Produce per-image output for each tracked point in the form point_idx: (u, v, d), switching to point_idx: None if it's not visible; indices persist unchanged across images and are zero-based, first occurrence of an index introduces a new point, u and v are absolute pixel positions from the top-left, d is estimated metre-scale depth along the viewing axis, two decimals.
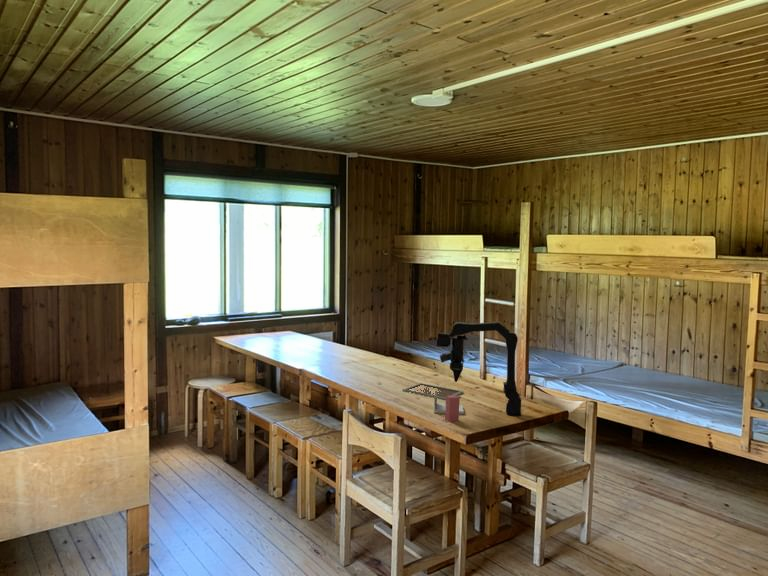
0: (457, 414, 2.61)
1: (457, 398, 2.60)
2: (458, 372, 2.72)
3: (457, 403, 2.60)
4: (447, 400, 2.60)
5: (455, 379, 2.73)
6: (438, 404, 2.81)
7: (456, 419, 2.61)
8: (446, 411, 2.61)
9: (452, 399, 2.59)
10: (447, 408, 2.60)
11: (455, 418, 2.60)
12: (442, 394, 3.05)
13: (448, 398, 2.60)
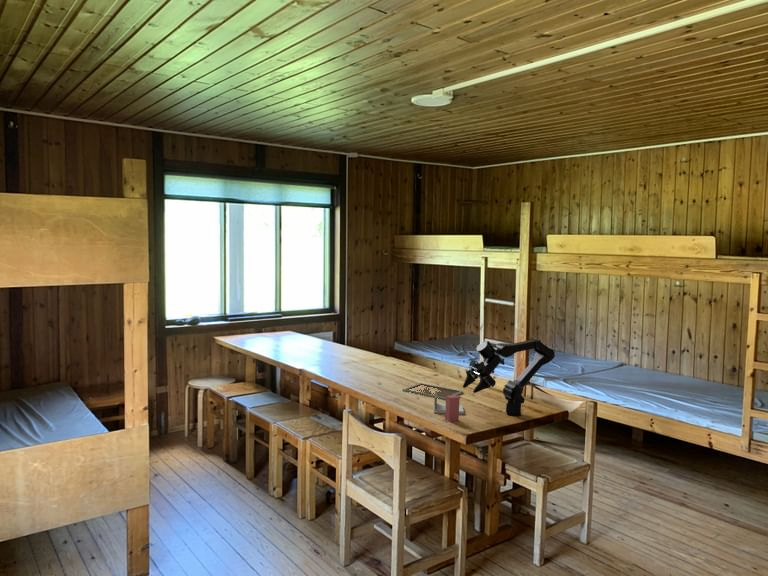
0: (457, 414, 2.61)
1: (457, 398, 2.60)
2: (483, 386, 2.60)
3: (457, 403, 2.60)
4: (447, 400, 2.60)
5: (475, 390, 2.59)
6: (438, 404, 2.81)
7: (456, 419, 2.61)
8: (446, 411, 2.61)
9: (452, 399, 2.59)
10: (447, 408, 2.60)
11: (455, 418, 2.60)
12: (442, 394, 3.05)
13: (448, 398, 2.60)
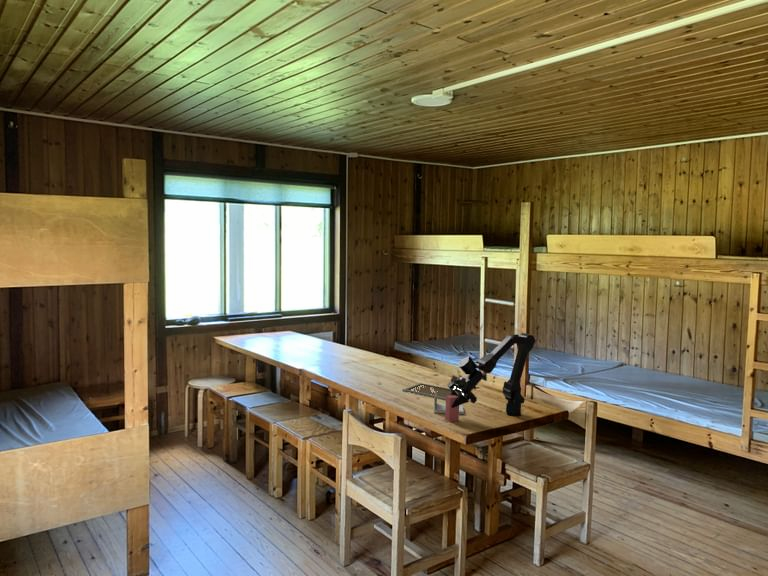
0: (457, 414, 2.61)
1: None
2: (461, 401, 2.59)
3: None
4: (447, 400, 2.60)
5: (454, 405, 2.59)
6: (438, 404, 2.81)
7: (456, 419, 2.61)
8: (446, 411, 2.61)
9: (452, 399, 2.59)
10: (447, 408, 2.60)
11: (455, 418, 2.60)
12: (442, 394, 3.05)
13: (448, 398, 2.60)
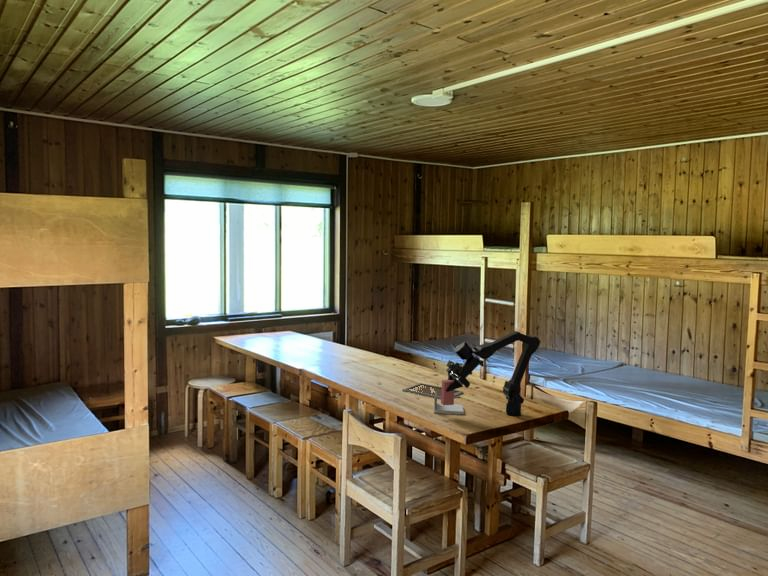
0: (452, 398, 2.65)
1: None
2: (456, 386, 2.63)
3: None
4: (442, 384, 2.66)
5: (448, 389, 2.64)
6: (438, 404, 2.81)
7: (451, 403, 2.65)
8: (442, 395, 2.67)
9: (447, 383, 2.64)
10: (442, 392, 2.66)
11: (450, 402, 2.65)
12: None
13: (443, 382, 2.65)
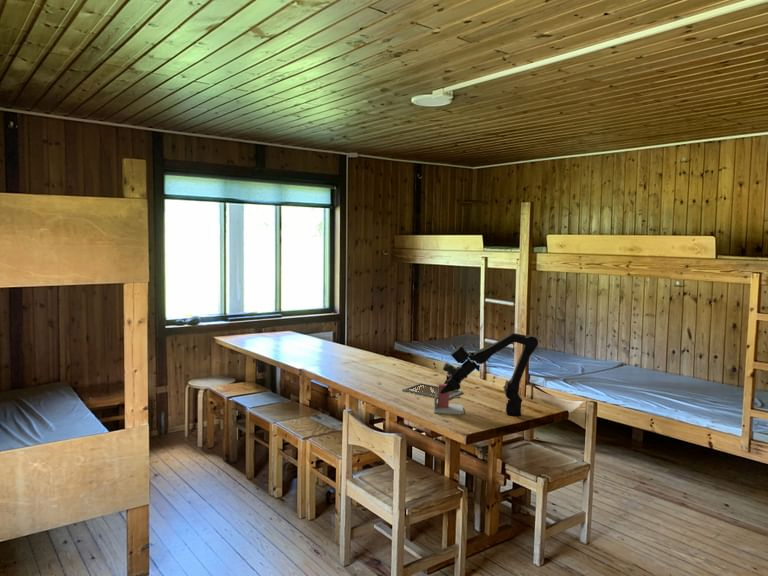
0: (447, 402, 2.75)
1: None
2: (450, 388, 2.71)
3: None
4: None
5: (442, 391, 2.73)
6: None
7: (446, 406, 2.75)
8: None
9: (441, 387, 2.75)
10: (438, 395, 2.77)
11: (444, 405, 2.75)
12: None
13: None
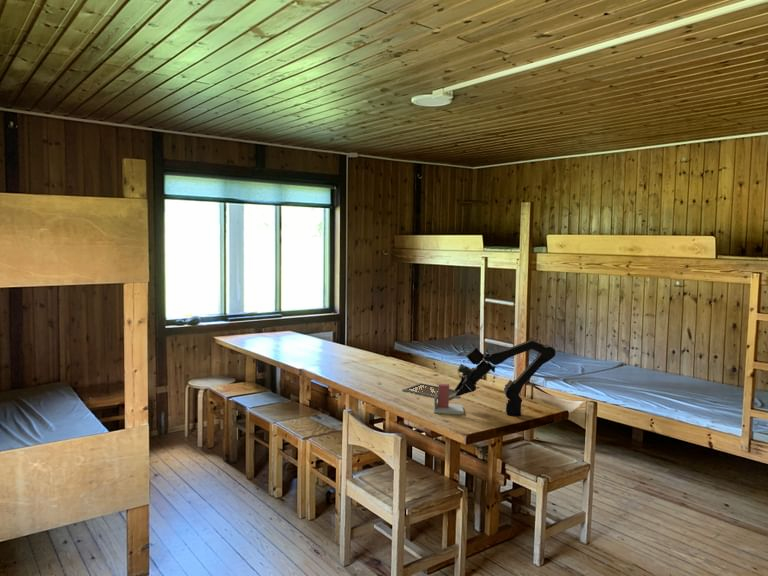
0: (447, 402, 2.75)
1: (447, 386, 2.74)
2: (465, 390, 2.70)
3: (447, 391, 2.75)
4: None
5: (458, 393, 2.71)
6: None
7: (446, 406, 2.75)
8: None
9: (441, 387, 2.75)
10: (438, 395, 2.77)
11: (444, 405, 2.75)
12: None
13: None
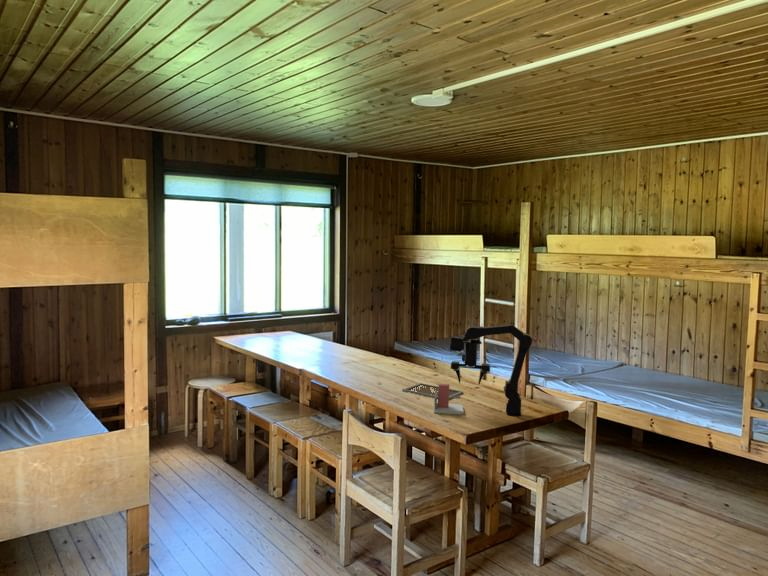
0: (447, 402, 2.75)
1: (447, 386, 2.74)
2: None
3: (447, 391, 2.75)
4: None
5: None
6: None
7: (446, 406, 2.75)
8: None
9: (441, 387, 2.75)
10: (438, 395, 2.77)
11: (444, 405, 2.75)
12: None
13: None
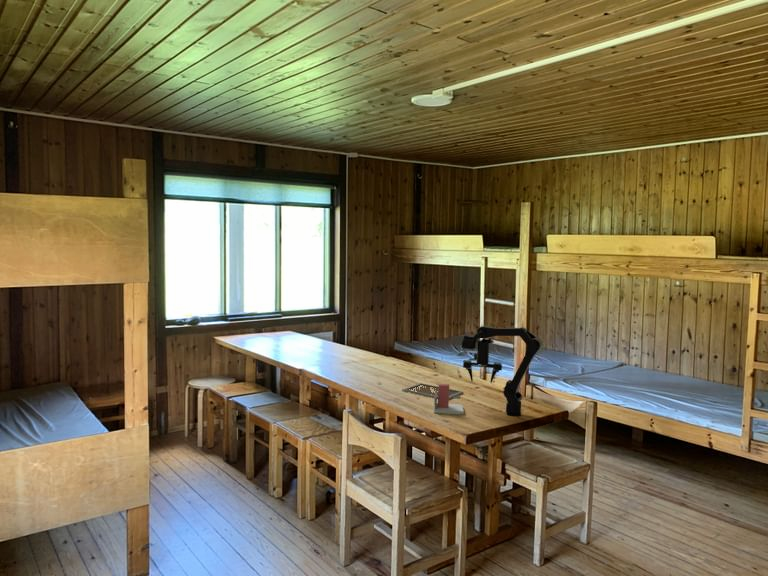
0: (447, 402, 2.75)
1: (447, 386, 2.74)
2: None
3: (447, 391, 2.75)
4: None
5: (471, 379, 2.82)
6: None
7: (446, 406, 2.75)
8: None
9: (441, 387, 2.75)
10: (438, 395, 2.77)
11: (444, 405, 2.75)
12: None
13: None
